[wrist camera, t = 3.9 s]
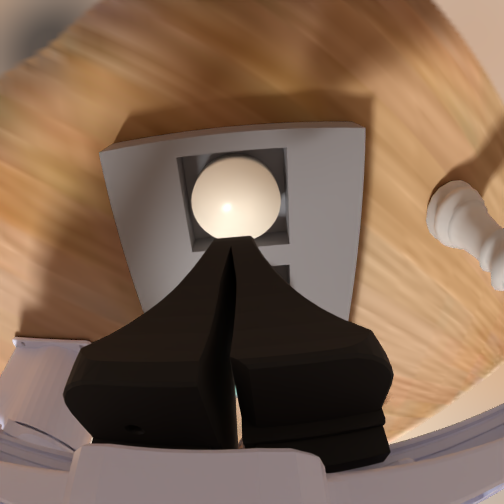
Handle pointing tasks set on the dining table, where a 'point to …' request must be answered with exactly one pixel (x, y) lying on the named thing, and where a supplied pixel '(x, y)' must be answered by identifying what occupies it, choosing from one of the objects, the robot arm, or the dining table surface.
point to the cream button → (236, 197)
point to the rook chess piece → (468, 227)
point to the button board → (269, 243)
